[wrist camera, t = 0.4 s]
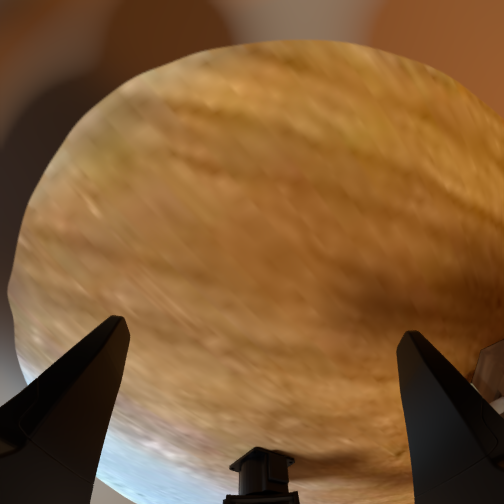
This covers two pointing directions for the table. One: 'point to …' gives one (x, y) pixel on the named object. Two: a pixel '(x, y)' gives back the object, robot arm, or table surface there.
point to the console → (490, 373)
